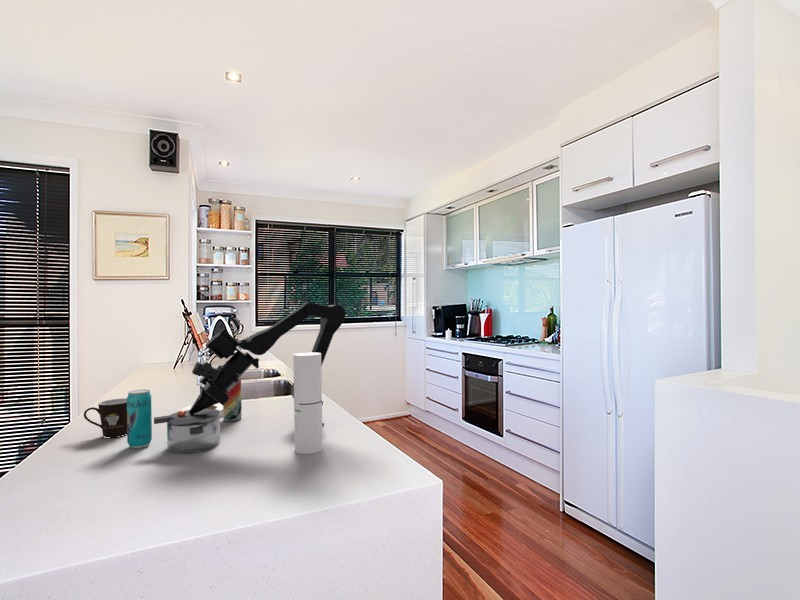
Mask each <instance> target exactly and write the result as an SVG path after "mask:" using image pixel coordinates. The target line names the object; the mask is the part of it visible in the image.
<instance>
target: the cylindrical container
mask: <svg viewBox="0 0 800 600" xmlns="http://www.w3.org/2000/svg"><path fill="white" fill-rule="evenodd" d="M292 355H293V383H294V398H293V410H294V413H293V417H294V422H293V423H294V425H293V426H294V452H295V453H296V454H298V455H299V454H300V455H313V454H317V453H319V452H321V451H323V447H324V446H323V445H324V444H323V438H324V437H323V426H322V423H323V405H322V401H323V393H322V391H323V389H322V385H323V384H322V382H323V381H322V380H323V379H322V366H321V353H316V352H312V351H310V352H300V353H299V352H298V353H293V354H292Z"/></svg>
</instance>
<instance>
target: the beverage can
mask: <svg viewBox="0 0 800 600" xmlns="http://www.w3.org/2000/svg"><path fill="white" fill-rule="evenodd" d="M127 394H128V395H127V397H126V398H127V435H126V437H127V438H126V439H127V440H126V442H127V445H128V446H129V448H130V449H131V448H133V449H132V450H136V449H135V448H140V449H144V448H147V447H148V445H149V446H150V445H151V442H152V439H153V438H152V437H153V435H152V434H153V431H152V429H153V424H152V422H153V420H152V419H153V418H152V416H153V415H152V395H151V390H150V389H137V390H131V391H128V392H127ZM146 446H147V447H146ZM143 447H144V448H143Z"/></svg>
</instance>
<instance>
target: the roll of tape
mask: <svg viewBox="0 0 800 600" xmlns="http://www.w3.org/2000/svg"><path fill="white" fill-rule="evenodd" d="M192 406H193V404H192V405H188V406H185V407H183V408H181V409H179V411H186V410H190V409H191V407H192ZM206 409H216V410H219V411H220V418H223V417H222V416H223V405H222V404H220V403H218V404H215V405H213V406H210V407H208V408H206Z"/></svg>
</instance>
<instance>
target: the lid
mask: <svg viewBox="0 0 800 600" xmlns="http://www.w3.org/2000/svg"><path fill="white" fill-rule="evenodd" d="M189 411H190V410H186V411H180V410H179V411H177V412H174V413H171V414H169V415H163V416H155V417H153V424H154V425H157V424H158V425H159V424H167V423H168V424H170V425H178V426H183V425H195V424H201V423H206V422H210V421H213V420H216V419H218V418H219V417H220V411H219V410H216V409H204V410H202V411H200V412H197V413H195V414H193V415H191V414H189ZM220 418H221V417H220Z"/></svg>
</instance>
